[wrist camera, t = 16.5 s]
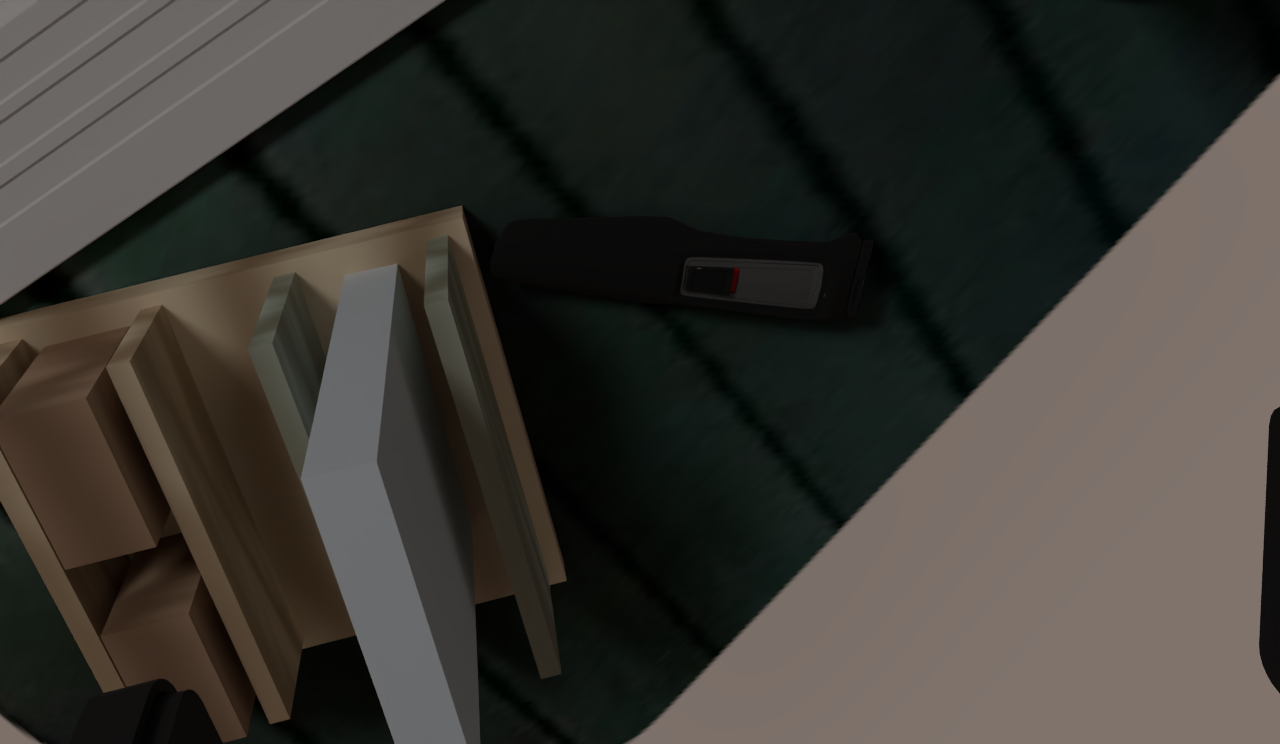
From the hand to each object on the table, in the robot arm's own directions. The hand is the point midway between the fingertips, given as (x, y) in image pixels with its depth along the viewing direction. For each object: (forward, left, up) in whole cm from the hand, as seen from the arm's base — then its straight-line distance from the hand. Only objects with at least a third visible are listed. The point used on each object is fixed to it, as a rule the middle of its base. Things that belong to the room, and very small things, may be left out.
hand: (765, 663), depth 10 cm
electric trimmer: (-4, +11, -37) cm, 39 cm away
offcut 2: (+18, +20, -35) cm, 44 cm away
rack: (+14, +15, -36) cm, 42 cm away
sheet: (+8, +14, -35) cm, 38 cm away
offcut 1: (+18, +11, -35) cm, 41 cm away
